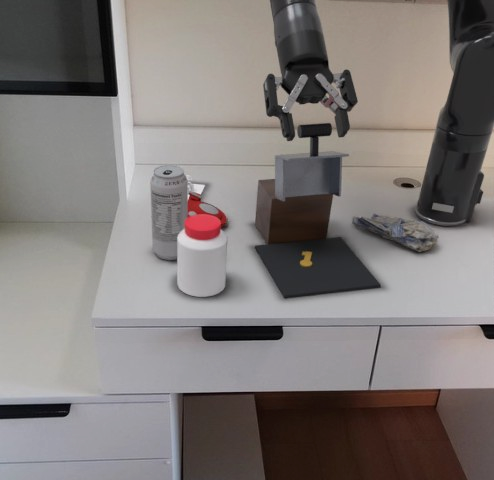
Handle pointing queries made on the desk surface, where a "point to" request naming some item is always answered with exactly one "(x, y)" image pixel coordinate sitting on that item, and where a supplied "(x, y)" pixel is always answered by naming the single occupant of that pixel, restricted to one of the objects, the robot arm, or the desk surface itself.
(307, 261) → the brass key
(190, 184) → the adhesive hook
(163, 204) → the energy drink can
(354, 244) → the desk surface
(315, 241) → the mat
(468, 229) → the desk surface
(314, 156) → the key caddy
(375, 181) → the desk surface
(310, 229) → the stand
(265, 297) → the desk surface
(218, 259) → the pill bottle
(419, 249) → the mineral specimen
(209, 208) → the tracker holder
